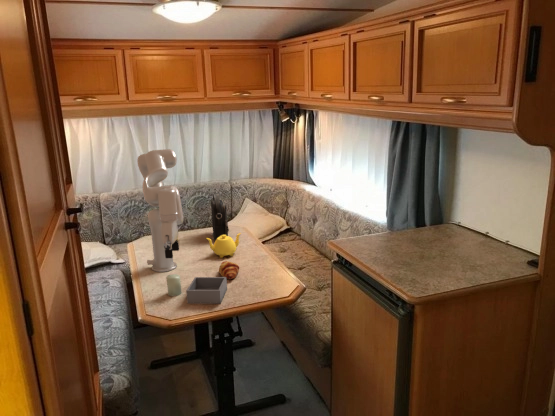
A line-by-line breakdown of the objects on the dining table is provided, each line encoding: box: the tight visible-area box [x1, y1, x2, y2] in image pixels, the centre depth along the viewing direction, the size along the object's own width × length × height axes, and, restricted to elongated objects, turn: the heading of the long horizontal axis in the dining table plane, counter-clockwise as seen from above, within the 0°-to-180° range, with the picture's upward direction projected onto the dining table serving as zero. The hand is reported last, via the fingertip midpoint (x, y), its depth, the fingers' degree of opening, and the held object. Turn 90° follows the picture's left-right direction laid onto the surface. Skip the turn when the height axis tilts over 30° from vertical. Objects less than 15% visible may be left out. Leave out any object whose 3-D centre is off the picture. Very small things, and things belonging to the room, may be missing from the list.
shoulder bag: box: [210, 193, 230, 242], centre depth 284 cm, size 23×9×28 cm, turn 15°
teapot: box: [205, 232, 242, 259], centre depth 255 cm, size 20×15×12 cm
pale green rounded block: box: [165, 273, 182, 297], centre depth 207 cm, size 6×6×8 cm
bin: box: [185, 276, 228, 305], centre depth 203 cm, size 15×15×6 cm
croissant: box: [218, 260, 240, 280], centre depth 228 cm, size 21×10×8 cm, turn 13°
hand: (172, 254), depth 204 cm, fingers open, 9 cm apart
